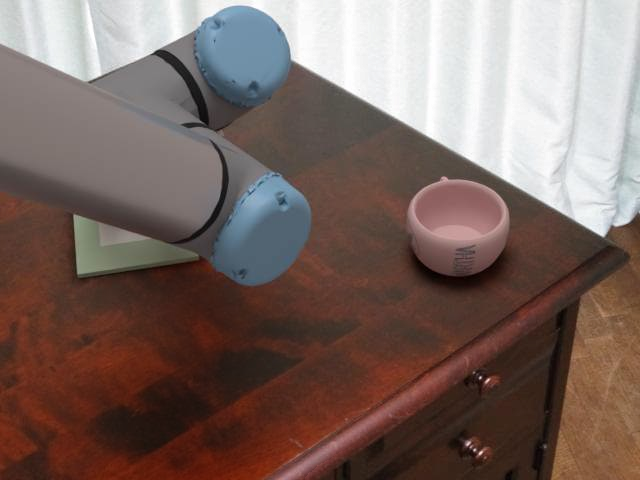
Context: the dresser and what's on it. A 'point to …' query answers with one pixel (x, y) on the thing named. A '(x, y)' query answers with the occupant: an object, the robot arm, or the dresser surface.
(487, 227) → the mug
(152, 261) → the chalk board
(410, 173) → the dresser surface
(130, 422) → the dresser surface
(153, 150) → the robot arm
